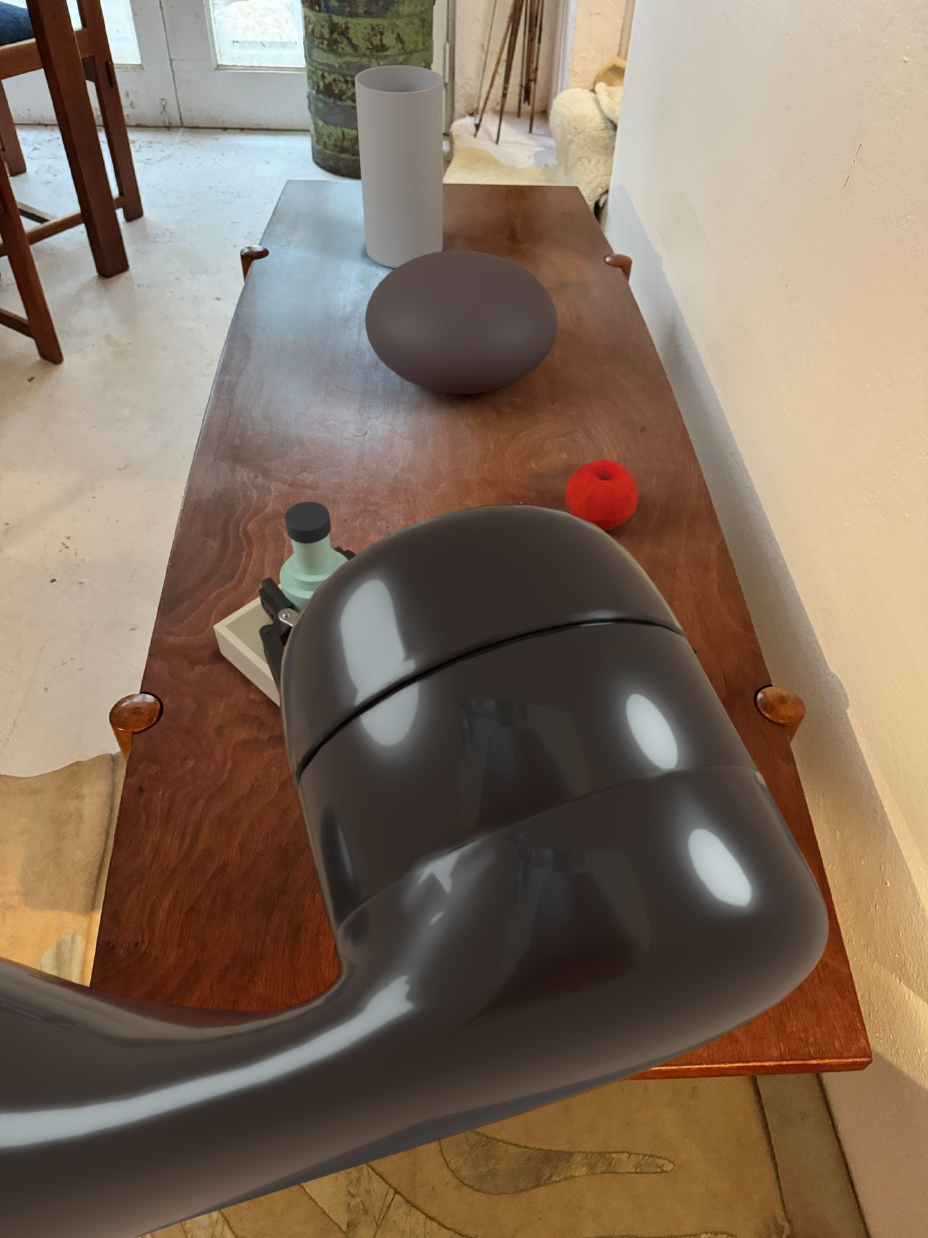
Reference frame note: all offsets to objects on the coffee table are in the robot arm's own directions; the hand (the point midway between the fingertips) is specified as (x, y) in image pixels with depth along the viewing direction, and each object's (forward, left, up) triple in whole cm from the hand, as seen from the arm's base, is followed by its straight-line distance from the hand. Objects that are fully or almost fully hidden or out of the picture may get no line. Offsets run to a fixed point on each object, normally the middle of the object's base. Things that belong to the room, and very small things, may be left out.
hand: (301, 571), depth 64 cm
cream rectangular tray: (+1, +4, -18) cm, 18 cm away
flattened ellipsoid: (+49, +30, -18) cm, 61 cm away
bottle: (0, -3, -8) cm, 8 cm away
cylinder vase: (+68, +61, -18) cm, 94 cm away
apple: (+38, -2, -18) cm, 42 cm away
